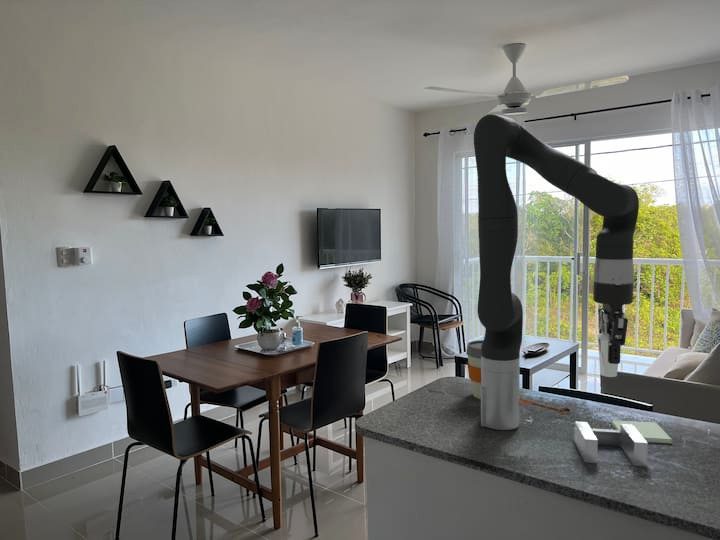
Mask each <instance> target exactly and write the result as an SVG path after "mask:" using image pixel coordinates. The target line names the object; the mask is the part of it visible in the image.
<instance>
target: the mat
mask: <svg viewBox="0 0 720 540" xmlns="http://www.w3.org/2000/svg"><path fill="white" fill-rule="evenodd" d="M621 424H633V425H634V427H635V428H636V429H637V430H638V432H639V433H640V434H641V435H642V437H643V438H644V439H645V440H646V441H647V443H655V444H656V443H659V444H672V440H673V439H672V438H671V437H670V436H669V435H668V434H667V432H665V430H664V429H663V428H662V427H661V426H660V425H659V424H658V423H657V422H654V421H653V422H652V421H635V420H634V421H632V420H631V421H630V420H618V419H617V420H614V419H613V420H611V425H612V427H613V429H614V430H620V425H621Z"/></svg>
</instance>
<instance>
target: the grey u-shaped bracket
mask: <svg viewBox="0 0 720 540" xmlns="http://www.w3.org/2000/svg"><path fill="white" fill-rule="evenodd" d="M574 425H575V426H574V427H573V441H574V444H575V446H576V448H577V450H578V452H579V454H580V456H581V459H582V460H583V462H584V463H589V464H590V463H591V464H598V449H599V448H598V445H607V446H619V447H620V448H621V449H622V450H623V452H624V454H625V455H626V457H627V458H628V460H629V461H630V463H631V464H632V466H634V467H646V468H647V467H648V447H649V445H648V444H649V442H647V441H646V440H645V439H644V438H643V437H642V435H641V434H640V433H639V432H638V430H637V429H636V428H635V427H634V425H633V424H621V425H620V430H615V429H610V428H609V429H607V428H594V427H593V428H592V427H591V426H590V424H589V423H588V422H587V421H575V423H574Z"/></svg>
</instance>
